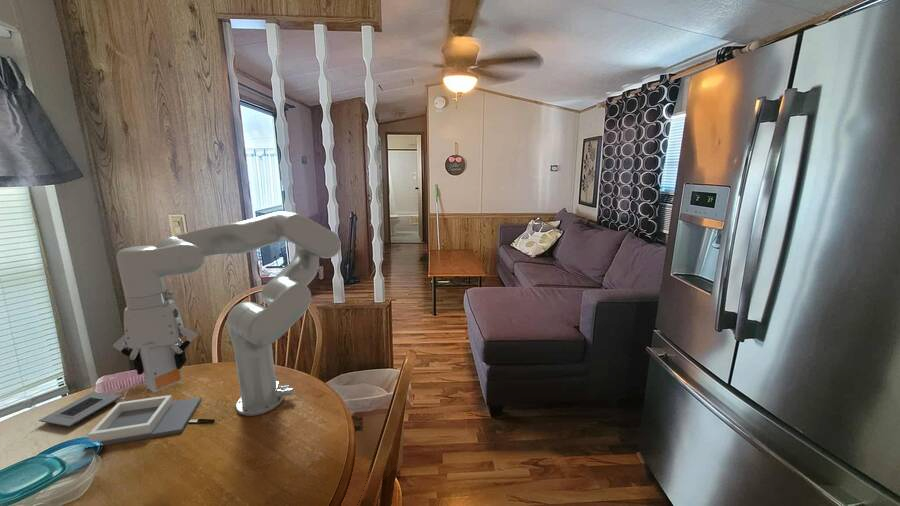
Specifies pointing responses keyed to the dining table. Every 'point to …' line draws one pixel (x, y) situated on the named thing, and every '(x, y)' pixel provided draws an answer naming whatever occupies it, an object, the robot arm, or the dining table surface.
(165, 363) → the skincare box
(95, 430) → the holder board
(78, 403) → the grey slotted tray
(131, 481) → the dining table surface
